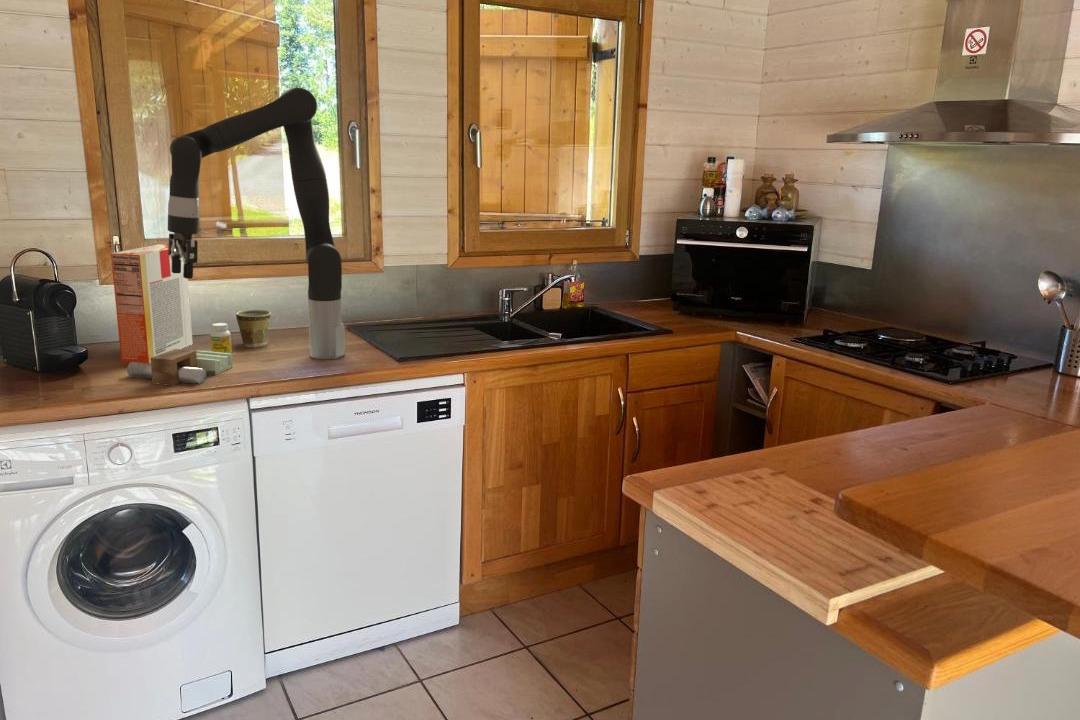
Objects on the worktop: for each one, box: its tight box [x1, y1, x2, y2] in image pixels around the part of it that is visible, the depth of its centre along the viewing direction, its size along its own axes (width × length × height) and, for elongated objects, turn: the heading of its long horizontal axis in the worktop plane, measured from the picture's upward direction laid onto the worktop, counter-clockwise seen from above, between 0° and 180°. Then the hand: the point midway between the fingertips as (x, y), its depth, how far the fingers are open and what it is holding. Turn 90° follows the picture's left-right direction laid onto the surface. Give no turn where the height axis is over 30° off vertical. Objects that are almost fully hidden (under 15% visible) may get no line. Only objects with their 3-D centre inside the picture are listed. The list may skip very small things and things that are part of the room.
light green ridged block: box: [196, 350, 233, 376], centre depth 212 cm, size 10×8×4 cm
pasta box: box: [110, 243, 193, 363], centre depth 223 cm, size 23×8×30 cm, turn 175°
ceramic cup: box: [235, 309, 272, 348], centre depth 240 cm, size 13×10×10 cm
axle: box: [126, 362, 208, 385], centre depth 202 cm, size 20×4×4 cm, turn 79°
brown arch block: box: [151, 349, 197, 386], centre depth 201 cm, size 6×10×7 cm, turn 169°
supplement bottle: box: [210, 322, 233, 356], centre depth 224 cm, size 5×5×10 cm
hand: (181, 275), depth 208 cm, fingers open, 8 cm apart
